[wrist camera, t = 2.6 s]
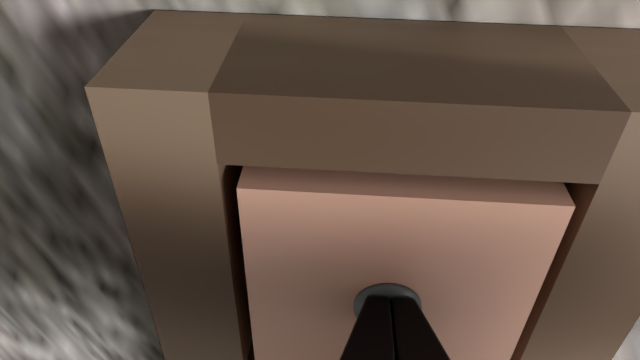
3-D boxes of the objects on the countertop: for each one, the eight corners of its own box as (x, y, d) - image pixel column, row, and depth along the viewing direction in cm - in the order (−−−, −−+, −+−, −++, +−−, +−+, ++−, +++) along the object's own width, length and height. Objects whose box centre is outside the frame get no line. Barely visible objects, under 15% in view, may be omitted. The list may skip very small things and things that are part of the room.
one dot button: (475, 294, 12) (497, 395, 10) (272, 282, 13) (255, 378, 11) (531, 118, 9) (577, 211, 7) (261, 105, 10) (235, 192, 8)
